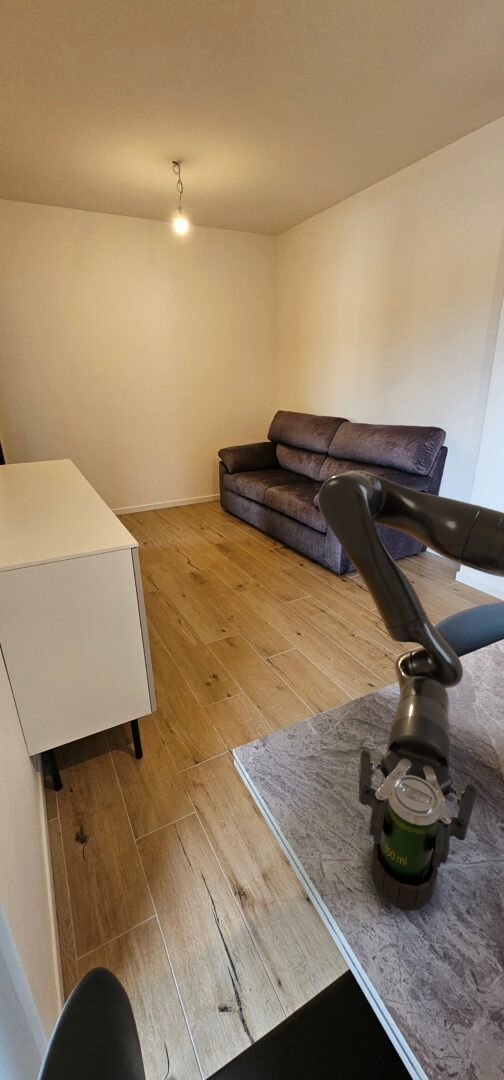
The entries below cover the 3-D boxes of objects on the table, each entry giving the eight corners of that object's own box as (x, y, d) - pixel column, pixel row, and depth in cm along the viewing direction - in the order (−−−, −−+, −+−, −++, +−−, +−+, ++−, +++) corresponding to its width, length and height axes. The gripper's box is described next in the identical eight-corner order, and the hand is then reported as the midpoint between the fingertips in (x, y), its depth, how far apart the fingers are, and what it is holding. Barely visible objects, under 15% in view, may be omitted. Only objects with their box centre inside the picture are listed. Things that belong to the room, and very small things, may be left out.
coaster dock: (427, 852, 55) (431, 833, 54) (439, 916, 48) (444, 896, 47) (368, 841, 56) (371, 823, 55) (372, 902, 49) (375, 882, 48)
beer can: (428, 860, 53) (444, 785, 49) (422, 905, 49) (439, 827, 44) (382, 840, 55) (393, 766, 51) (372, 881, 51) (384, 804, 47)
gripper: (369, 700, 63) (341, 798, 49) (482, 731, 58) (489, 853, 43) (364, 741, 66) (336, 846, 51) (472, 775, 60) (475, 903, 46)
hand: (406, 848), depth 47 cm, fingers closed on beer can, 5 cm apart
